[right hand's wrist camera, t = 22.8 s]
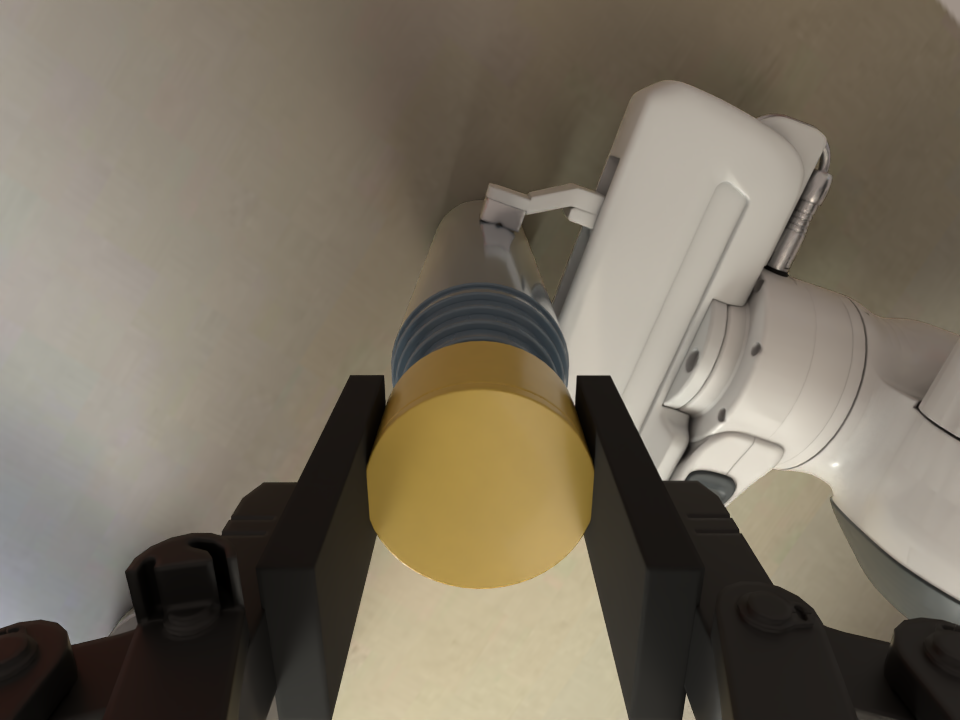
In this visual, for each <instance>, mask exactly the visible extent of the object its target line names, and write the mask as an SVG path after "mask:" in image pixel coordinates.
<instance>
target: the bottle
mask: <svg viewBox="0 0 960 720" xmlns="http://www.w3.org/2000/svg"><path fill="white" fill-rule="evenodd" d="M483 201H484V200H472V201H468V202H465V203H462V204H460V205H458V206H456V207H455V208H453V209H452V210H451V211H449V212H448V213H447V214H446V215H445V216H444V218H443V219H442V220H441V222H440V224H439V226H438V228H437V230H436V233H435V236H434V238H433V241H432V244H431V246H430V249H429V252H428V254H427V257H426V260H425V262H424V265H423V268H422V270H421V273H420V276H419V278H418V281H417V284H416V286H415V289H414V292H413V294H412V297H411V300H410V302H409V305H408V308H407V310H406V313H405V316H404V318H403V321H402V324H401V326H400V329H399V332H398V334H397V337H396V340H395V343H394V347H393V351H392V360H391V370H392V384H393V388H394V387H395V385H396V384H397V382H398V381H399V379H400V378H401V377H402V375H403V374H404V373H405V372H406V371H407V370H408V369H409V368H410V367H411V366H413V365H414V364H415V363H416V362H418V361H419V360H420V359H422V358H423V357H425V356H427V355H428V354H430V353H432V352H434V351H436V350H439V349H441V348H443V347H446V346H450V345H453V344H457V343H463V342H469V341H489V342H498V343H504V344H507V345H511V346H514V347H517V348H520V349H522V350H524V351H526V352H528V353H530V354H532V355H534V356H536V357H537V358H539V359H540V360H542V361H543V362H544V363H546V364H547V365H548V366H549V367H550V368H551V369H552V370H553V371H554V372H555V373H556V374H557V375H558V376H559V378H560V379H561V380H562V381H563V383H564V384H565V386H566V388H567V387H568V379H569V354H568V349H567V345H566V342H565V339H564V336H563V333H562V331H561V328H560V325H559V323H558V320H557V317H556V315H555V312H554V309H553V307H552V304H551V301H550V299H549V296H548V293H547V291H546V288H545V285H544V283H543V280H542V277H541V275H540V272H539V269H538V267H537V264H536V261H535V259H534V256H533V253H532V251H531V248H530V245H529V243H528V240H527V237H526V235H525V232H524V229H523V227H522V225H521V227H520V230H519V232H515V231H512V230H509V229H507V228H504V227H503V226H502V225H501V223H497V224H492V223H488V222H485V221H483V220H481V219H480V218H479V215H480V211H481V208H482V205H483Z"/></svg>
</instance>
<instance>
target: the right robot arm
mask: <svg viewBox="0 0 960 720" xmlns="http://www.w3.org/2000/svg"><path fill="white" fill-rule="evenodd" d="M385 407H386V401H385V384H384V375H350V377H349V379H348V381H347V383H346V385H345V387H344V389H343V391H342V393H341V395H340V397H339V399H338V401H337V403H336V405H335V407H334V409H333V411H332V413H331V416H330V418H329V420H328V422H327V424H326V426H325V428H324V430H323V432H322V434H321V436H320V438H319V440H318V442H317V444H316V446H315V448H314V450H313V452H312V454H311V456H310V458H309V460H308V462H307V464H306V466H305V468H304V470H303V472H302V474H301V476H300V478H299V480H298V482H263V483H262V484H261V485H259V486H258V487H257V488H255V489H254V490H253V491H251V492H250V493H249V494H247V495H246V496H245V497H244V498H242V500H241V502H240V503H239V505H238V506H237V508H236V510H235V511H234V513H233V515H232V516H231V520H229V521H228V523H227V524H226V526H225V528H224V529H223V531H222V536H220V535H216V534H213V533H190V534H186V535H181V536H177V537H173V538H169V539H167V540H165V541H163V542H160V543H158V544H156V545H154V546H151V547H150V548H148V549H147V550H146V551H144V552H143V553H142V554H140V555H139V556H137V557H136V558H135V559H134V560H133V562H132V563H131V564H130V566H129V567H128V568H127V570H126V571H125V574H126V578H127V582H128V586H129V590H130V594H131V598H132V603H133V608H132V609H131V610H129V611H128V612H127V613H126V614H125V615H124V616H123V617H122V619H121V620H120V621H119V622H118V624H117V625H116V626H115V628H114V629H113V631H112V632H111V633H110V635H109V636H108V637H105V638H100V639H96V640H92V641H87V642H83V643H79V644H74V645H71V644H70V640H69V637H68V633H67V631H66V630H65V629H64V628H63V627H61V626H60V625H59V624H58V623H55V622H50V621H45V620H35V621H26V622H19V623H16V624H13V625H9V626H6V627H3V628H0V720H332V716H333V712H334V708H335V704H336V700H337V696H338V692H339V688H340V683H341V679H342V675H343V671H344V667H345V663H346V659H347V655H348V651H349V647H350V642H351V638H352V634H353V630H354V626H355V622H356V618H357V614H358V610H359V606H360V601H361V597H362V593H363V589H364V585H365V581H366V577H367V573H368V569H369V565H370V561H371V556H372V552H373V548H374V544H375V540H376V536H377V533H376V532H375V530H374V528H373V526H372V523H371V521H370V515H369V502H368V488H367V473H366V467H367V463H368V460H369V457H370V454H371V451H372V448H373V444H374V441H375V438H376V435H377V432H378V429H379V426H380V423H381V420H382V416H383V413H384V410H385ZM575 409H576V412H577V415H578V418H579V421H580V424H581V427H582V430H583V433H584V436H585V439H586V442H587V446H588V449H589V452H590V455H591V458H592V461H593V465H594V483H593V497H592V510H591V520H590V523H589V525H588V527H587V529H586V531H585V533H584V537H585V542H586V546H587V550H588V554H589V558H590V562H591V566H592V570H593V574H594V578H595V583H596V587H597V591H598V595H599V599H600V603H601V607H602V611H603V615H604V619H605V623H606V628H607V632H608V636H609V640H610V644H611V648H612V652H613V656H614V660H615V664H616V669H617V673H618V677H619V681H620V685H621V689H622V693H623V697H624V701H625V705H626V709H627V714H628V718H629V720H682V717H683V710H684V704H685V697H686V693H687V696H688V699H689V702H690V705H691V708H692V710H693V713H694V716H695V719H696V720H960V625H957V624H954V623H951V622H948V621H945V620H940V619H932V618H923V617H919V618H914V619H909V620H904V621H903V622H902V623H901V624H899V625H898V626H897V627H896V628H895V629H894V633H893V636H892V640H891V643H889V642H885V641H880V640H876V639H872V638H867V637H863V636H859V635H854V634H850V633H846V632H842V631H839V630H836V629H832V628H829V627H826V626H824V625H823V623H822V621H821V620H820V618H819V617H818V615H817V614H816V612H815V610H814V609H813V608H812V607H811V606H810V605H808V604H807V603H806V602H805V601H803V600H802V599H801V598H800V597H799V596H797V595H795V594H793V593H791V592H789V591H787V590H785V589H783V588H781V587H778V586H774V585H773V583H772V582H771V580H770V579H769V577H768V575H767V574H766V572H765V570H764V569H763V567H762V566H761V564H760V562H759V561H758V559H757V558H756V556H755V554H754V553H753V551H752V550H751V548H750V546H749V545H748V543H747V541H746V540H745V538H744V537H743V535H742V533H739V529H738V527H737V525H736V524H735V522H734V520H733V519H732V518H730V514H729V512H728V511H727V509H726V508H725V506H724V504H723V503H722V501H721V500H720V498H719V496H717V495H716V494H715V493H713V492H712V491H711V490H709V489H708V488H707V487H705V486H704V485H703V484H701V483H700V482H699V481H662V479H661V477H660V475H659V473H658V471H657V469H656V467H655V465H654V463H653V461H652V459H651V457H650V455H649V453H648V451H647V449H646V447H645V445H644V442H643V440H642V438H641V436H640V434H639V432H638V430H637V428H636V426H635V424H634V422H633V420H632V418H631V416H630V414H629V412H628V410H627V408H626V406H625V404H624V402H623V400H622V398H621V396H620V394H619V392H618V390H617V388H616V386H615V384H614V382H613V380H612V378H611V376H610V375H577V378H576V395H575Z"/></svg>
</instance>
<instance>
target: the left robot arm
mask: <svg viewBox="0 0 960 720" xmlns="http://www.w3.org/2000/svg"><path fill="white" fill-rule="evenodd" d="M819 158H820V163H819V168H818V170H817V169H814V168H815V166H816V164H817V162H818V160H819ZM830 160H831V153H830V147H829V144H828V141H827V139H826V137H825V136H824V134H823V133H822V132H821V131H820V130H819V129H817V128H816V127H814V126H813V125H810V124H808V123H805V122H802V121H800V120H797V119H794V118H792V117H789V116H786V115H784V114H765V115H762V116H759V117H756V118H754V117H753V116H751V115H749V114H748V113H746V112H744V111H742V110H741V109H739V108H737V107H735V106H733V105H731V104H730V103H728V102H726V101H724V100H722V99H720V98H718V97H716V96H714V95H712V94H710V93H707V92H705V91H703V90H701V89H698V88H696V87H694V86H691V85H689V84H686V83H684V82H680V81H675V80H663V81H659V82H657V83H654V84H652V85H649V86H647V87H645V88H643V89H641V90H639V91H637V92H636V93H634V94H633V96H632V97H631V99H630V101H629V103H628V106H627V108H626V111H625V114H624V116H623V119H622V122H621V124H620V127H619V129H618V132H617V135H616V137H615V140H614V142H613V145H612V148H611V150H610V153H609V155H608V158H607V161H606V163H605V166H604V168H603V171H602V174H601V176H600V179H599V181H598V184H597V187H596V189H595V191H594V190H591V189H588V188H585V187H582V186H579V185H576V184H573V183H569V184H564V185H559V186H555V187H550V188H546V189H541V190H536V191H532V192H529V193H528V195H526V194H524V193H521V192H518V191H515V190H512V189H509V188H506V187H503V186H500V185H497V184H492V183H489V186H488V189H487V192H486V195H485V198H484V201H483V205H482V208H481V211H480V215H479V218H480V219H481V220H483V221H485V222H488V223H492V224H497V223H501V225H502V226H503V227H504V228H507V229H509V230H512V231H515V232H519V230H520V227H521V224H522V222H523V219H524V216H525V214H526V215H529V214H534V213H539V212H544V211H549V210H555V209H560V208H563V209H562V211H563V214H564V215H565V216H566V217H567V218H568V220H569V221H571V222H574V223H577V224H580V225H582V226H581V228H580V231H579V234H578V236H577V239H576V241H575V244H574V247H573V249H572V252H571V254H570V257H569V260H568V262H567V265H566V267H565V270H564V273H563V275H562V278H561V280H560V283H559V286H558V288H557V291H556V293H555V296H554V299H553V301H552V307H553V309H554V312H555V315H556V317H557V320H558V323H559V325H560V328H561V331H562V333H563V336H564V339H565V342H566V345H567V349H568V354H569V379H568V387H567V389H568V391H569V393H570V395H571V398H572V400H573V402H574V405H575V395H576V378H577V375H610V376H611V378H612V380H613V382H614V384H615V386H616V388H617V390H618V392H619V394H620V396H621V398H622V400H623V402H624V404H625V406H626V408H627V410H628V412H629V414H630V416H631V418H632V420H633V422H634V424H635V426H636V428H637V430H638V432H639V434H640V436H641V438H642V440H643V442H644V445H645V447H646V449H647V451H648V453H649V455H650V457H651V459H652V461H653V463H654V465H655V467H656V469H657V471H658V473H659V475H660V477H661V479H662V481H699V482H700V483H701V484H703V485H704V486H705V487H707V488H708V489H709V490H711V491H712V492H713V493H715V494H716V495H717V496H719V498H720V500H721V501H722V503H723V504H724V506H725V508H726V507H727V506H728V505H729V504H730V503H731V502H732V501H733V500H734V499H735V498H737V497H738V496H739V495H740V494H741V493H742V492H743V491H745V490H746V489H747V488H748V487H750V486H751V485H752V484H753V483H755V482H756V481H757V480H759V479H760V478H761V477H763V476H764V475H765V474H767V473H768V472H769V471H771V470H772V469H775V470H785V471H798V472H804V473H808V474H811V475H814V476H816V477H818V478H820V479H821V480H823V481H824V482H825V483H827V484H828V485H829V486H830V487H831V489H832V491H833V496H832V497H830V501H831V505H832V508H833V511H834V513H835V516H836V518H837V520H838V522H839V524H840V527H841V529H842V531H843V533H844V535H845V536H846V538H847V540H848V542H849V544H850V546H851V548H852V550H853V552H854V554H855V556H856V558H857V560H858V562H859V564H860V566H861V568H862V569H863V571H864V573H865V574H866V576H867V577H868V579H869V580H870V581H871V583H872V584H873V585H874V586H875V588H876V589H877V590H878V591H879V592H880V593H881V594H882V595H883V596H884V597H885V598H886V599H887V600H888V601H889V602H890V603H891V604H892V605H893V606H894V607H895V608H896V609H897V610H898V611H899V612H901V613H902V614H903V615H904V616H905V617H907V618H908V619H914V618H919V617H923V618H932V619H940V620H945V621H948V622H951V623H954V624H957V625H960V335H958V334H955V333H952V332H950V331H947V330H944V329H941V328H939V327H936V326H933V325H930V324H927V323H924V322H921V321H917V320H912V319H903V318H884V317H880V316H877V315H875V314H873V313H871V312H870V311H869V310H868V309H866V308H865V307H864V306H863V305H861V304H860V303H858V302H857V301H855V300H853V299H852V298H850V297H848V296H845V295H843V294H840V293H837V292H834V291H831V290H828V289H825V288H822V287H819V286H816V285H813V284H810V283H808V282H805V281H802V280H799V279H796V278H794V277H791V276H789V275H788V274H787V273H788V271H789V269H790V267H791V265H792V263H793V261H794V259H795V257H796V255H797V253H798V251H799V249H800V247H801V245H802V243H803V241H804V239H805V236H806V235H805V234H807V231H808V229H807V228H809V225H810V221H812V218H813V215H814V214H815V212H816V211H817V209H818V207H819V206H821V205H822V203H823V202H824V200H825V198H826V196H827V195H828V192H829V190H830V187H831V184H832V181H833V175H831V174H829V173H828V170H829V167H830Z"/></svg>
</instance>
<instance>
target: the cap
mask: <svg viewBox="0 0 960 720" xmlns="http://www.w3.org/2000/svg"><path fill="white" fill-rule="evenodd" d="M366 473H367V488H368V502H369V515H370V521H371V523H372V526H373V528H374V530H375V532H376V533H377V535H378V537H379V538H380V540H381V541H382V543H383V544H384V545H385V546H386V548H387V549H388V550H389V551H390V552H391V553H392V554H393V555H394V556H395V557H396V558H397V559H398V560H399V561H401V562H402V563H403V564H405V565H406V566H407V567H409V568H410V569H412V570H414V571H415V572H417V573H419V574H421V575H422V576H425V577H427V578H429V579H432V580H434V581H437V582H440V583H444V584H447V585H451V586H456V587H462V588H473V589H487V588H498V587H505V586H509V585H513V584H517V583H521V582H523V581H526V580H529V579H532V578H534V577H536V576H538V575H540V574H542V573H544V572H546V571H547V570H549V569H550V568H552V567H553V566H555V565H556V564H557V563H559V562H560V561H561V560H562V559H563V558H565V557H566V556H567V555H568V554H569V553H570V552H571V550H572V549H573V548H574V547H575V546H576V545H577V543H578V542H579V541H580V539H581V538H582V536H583V535H584V533H585V531H586V529H587V527H588V525H589V523H590V520H591V510H592V497H593V483H594V465H593V461H592V458H591V455H590V452H589V449H588V446H587V442H586V439H585V436H584V433H583V430H582V427H581V424H580V421H579V418H578V415H577V412H576V409H575V405H574V402H573V400H572V398H571V395H570V393H569V391H568V389H567V388H566V386H565V384H564V383H563V381H562V380H561V379H560V378H559V376H558V375H557V374H556V373H555V372H554V371H553V370H552V369H551V368H550V367H549V366H548V365H547V364H546V363H544V362H543V361H542V360H540V359H539V358H537V357H536V356H534V355H532V354H530V353H528V352H526V351H524V350H522V349H520V348H517V347H514V346H511V345H507V344H504V343H498V342H489V341H469V342H463V343H457V344H453V345H450V346H446V347H443V348H441V349H439V350H436V351H434V352H432V353H430V354H428V355H427V356H425V357H423V358H422V359H420V360H419V361H418V362H416V363H415V364H414V365H413V366H411V367H410V368H409V369H408V370H407V371H406V372H405V373H404V374H403V375H402V377H401V378H400V379H399V381H398V382H397V384H396V385H395V387H394V388H393V390H392V392H391V394H390V396H389V399H388V402H387V404H386V407H385V410H384V413H383V416H382V420H381V423H380V426H379V429H378V432H377V435H376V438H375V441H374V444H373V448H372V451H371V454H370V457H369V460H368V463H367V467H366Z"/></svg>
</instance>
